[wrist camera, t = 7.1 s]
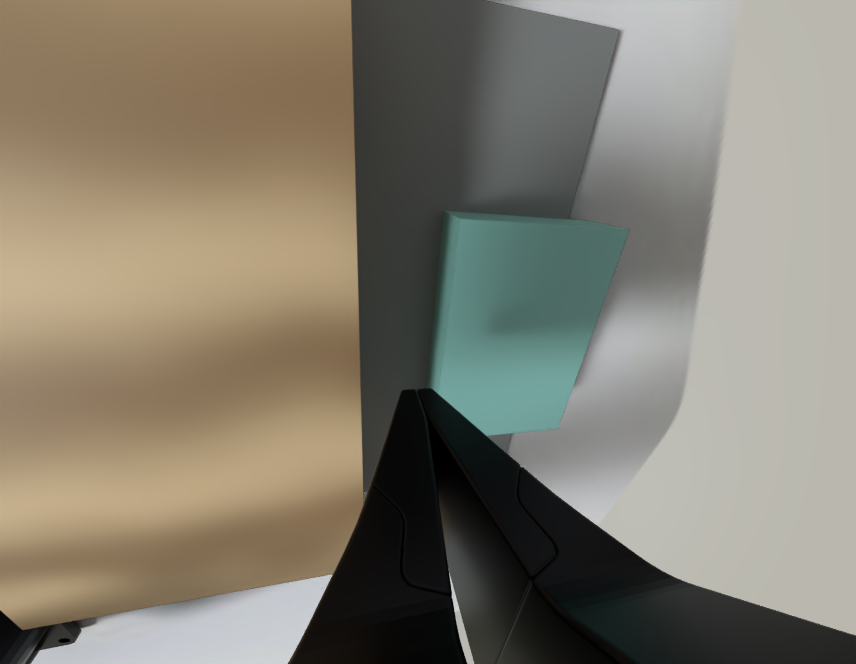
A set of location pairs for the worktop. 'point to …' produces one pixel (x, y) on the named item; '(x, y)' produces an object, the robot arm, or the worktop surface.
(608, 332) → the worktop surface
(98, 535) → the board
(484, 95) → the mat
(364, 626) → the robot arm
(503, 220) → the teal rectangular block
